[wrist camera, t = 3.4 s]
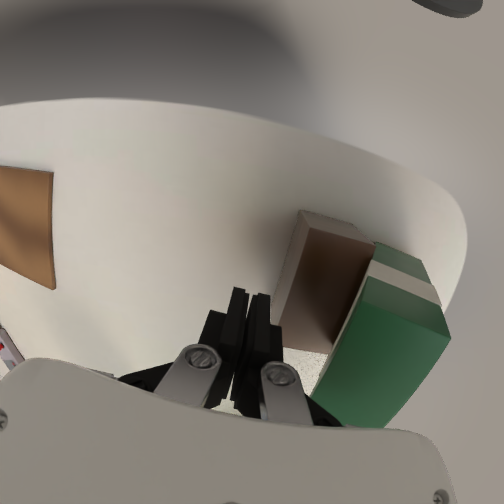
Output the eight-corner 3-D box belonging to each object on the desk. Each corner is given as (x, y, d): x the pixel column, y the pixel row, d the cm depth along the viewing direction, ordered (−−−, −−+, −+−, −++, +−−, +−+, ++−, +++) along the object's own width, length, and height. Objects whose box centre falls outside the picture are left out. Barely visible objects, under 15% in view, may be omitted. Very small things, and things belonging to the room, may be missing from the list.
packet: (290, 302, 21) (303, 440, 10) (315, 223, 19) (377, 325, 7) (381, 320, 22) (439, 432, 10) (412, 252, 19) (510, 342, 8)
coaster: (-6, 164, 18) (-10, 165, 18) (53, 172, 19) (49, 173, 18) (-2, 259, 23) (-5, 261, 22) (56, 288, 23) (53, 290, 22)
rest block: (299, 208, 19) (309, 227, 14) (352, 223, 19) (376, 245, 14) (271, 305, 22) (270, 344, 17) (318, 315, 22) (329, 354, 17)
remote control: (29, 385, 32) (22, 395, 29) (-18, 313, 27) (-28, 321, 24) (45, 386, 30) (36, 397, 28) (-8, 307, 26) (-19, 316, 23)
